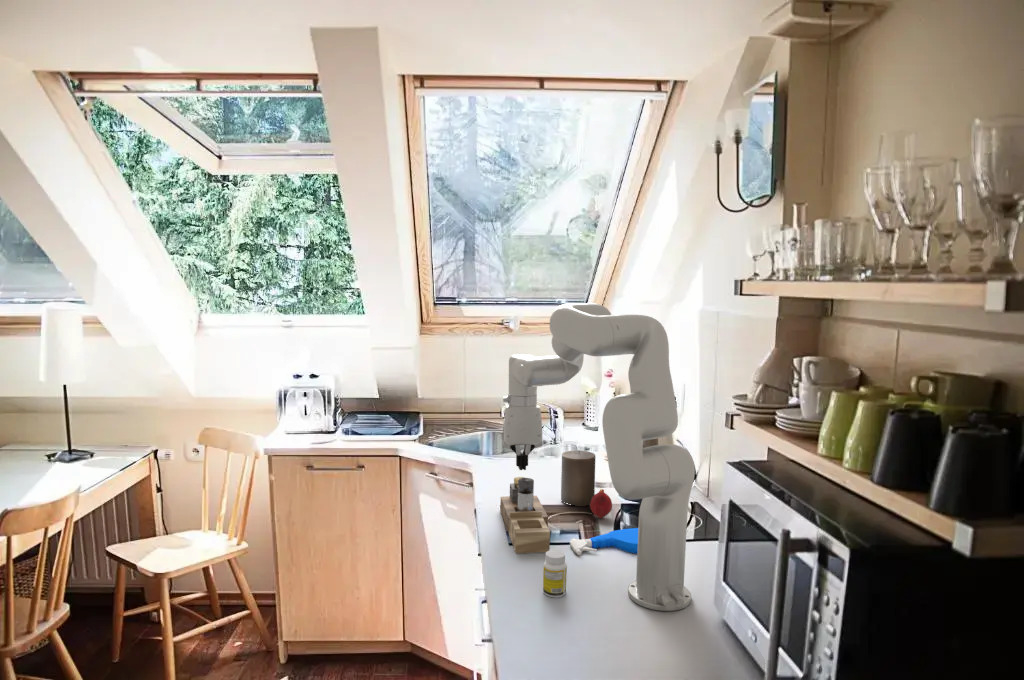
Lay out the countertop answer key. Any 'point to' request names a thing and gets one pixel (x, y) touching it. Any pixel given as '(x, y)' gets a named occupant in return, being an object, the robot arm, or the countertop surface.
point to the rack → (529, 532)
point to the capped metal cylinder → (525, 494)
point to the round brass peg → (517, 480)
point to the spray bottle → (609, 541)
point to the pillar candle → (578, 477)
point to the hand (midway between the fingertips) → (522, 468)
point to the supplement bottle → (554, 574)
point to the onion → (601, 504)
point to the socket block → (511, 505)
